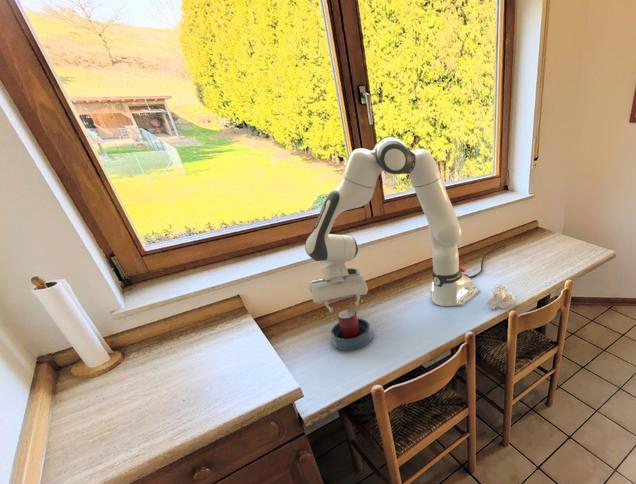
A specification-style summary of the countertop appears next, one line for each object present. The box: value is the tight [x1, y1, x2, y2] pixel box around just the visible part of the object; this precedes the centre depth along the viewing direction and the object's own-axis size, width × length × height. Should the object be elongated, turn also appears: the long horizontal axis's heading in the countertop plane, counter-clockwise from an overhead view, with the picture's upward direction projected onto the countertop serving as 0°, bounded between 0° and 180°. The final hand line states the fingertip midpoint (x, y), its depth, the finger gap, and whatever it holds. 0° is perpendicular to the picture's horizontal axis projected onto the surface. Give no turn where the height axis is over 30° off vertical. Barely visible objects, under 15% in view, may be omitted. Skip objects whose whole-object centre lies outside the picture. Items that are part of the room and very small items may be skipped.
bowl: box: [330, 318, 373, 352], centre depth 133 cm, size 14×14×6 cm
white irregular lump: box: [485, 283, 518, 310], centre depth 155 cm, size 12×9×10 cm
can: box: [337, 309, 361, 339], centre depth 131 cm, size 6×6×12 cm
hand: (344, 309), depth 137 cm, fingers open, 8 cm apart
